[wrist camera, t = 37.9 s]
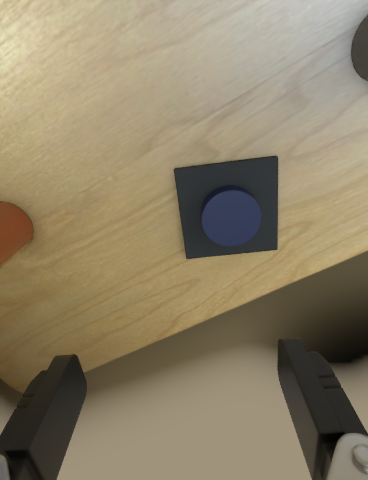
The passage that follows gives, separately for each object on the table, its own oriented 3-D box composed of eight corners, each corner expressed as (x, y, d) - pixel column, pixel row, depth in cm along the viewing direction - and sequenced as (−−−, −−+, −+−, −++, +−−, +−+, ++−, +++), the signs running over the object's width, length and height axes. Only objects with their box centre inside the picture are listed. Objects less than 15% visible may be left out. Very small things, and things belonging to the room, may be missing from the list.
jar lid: (233, 248, 32) (236, 256, 30) (189, 220, 31) (189, 227, 29) (269, 205, 30) (274, 211, 28) (223, 173, 29) (225, 178, 27)
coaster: (276, 247, 33) (277, 249, 32) (186, 256, 33) (186, 259, 33) (276, 155, 28) (278, 156, 28) (174, 168, 29) (173, 169, 29)
